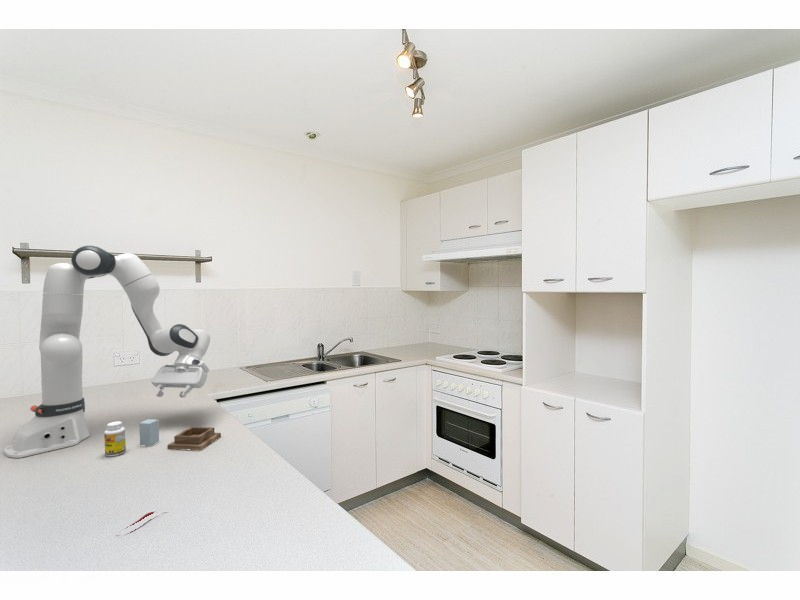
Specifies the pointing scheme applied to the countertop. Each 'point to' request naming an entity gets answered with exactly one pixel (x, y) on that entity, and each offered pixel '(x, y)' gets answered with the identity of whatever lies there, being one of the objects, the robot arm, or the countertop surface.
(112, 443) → the supplement bottle
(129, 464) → the countertop surface
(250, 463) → the countertop surface
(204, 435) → the board
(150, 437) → the block
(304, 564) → the countertop surface
